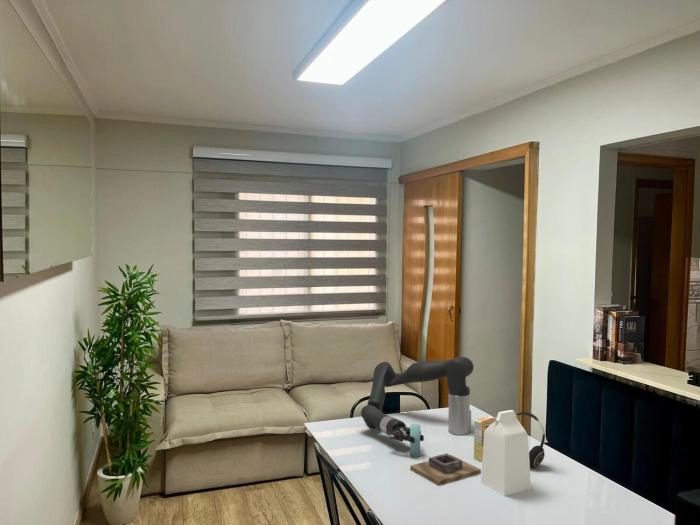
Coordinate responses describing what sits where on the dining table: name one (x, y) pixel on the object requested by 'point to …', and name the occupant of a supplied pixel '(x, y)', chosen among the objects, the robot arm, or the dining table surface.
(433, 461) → the wooden peg socket board
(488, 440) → the milk
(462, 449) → the dining table surface
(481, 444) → the candy box
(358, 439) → the dining table surface
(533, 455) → the headphones
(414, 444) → the teal peg
